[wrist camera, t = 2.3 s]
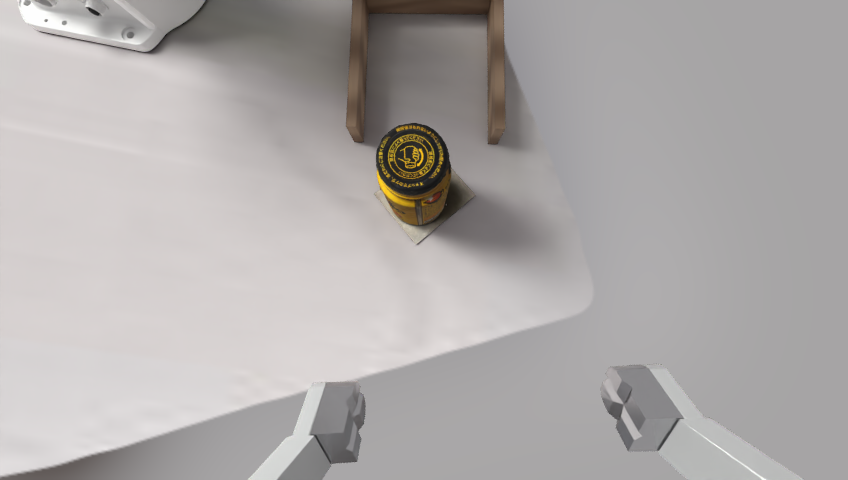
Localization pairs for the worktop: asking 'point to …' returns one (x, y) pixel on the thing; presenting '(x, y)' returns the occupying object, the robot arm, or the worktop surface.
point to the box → (426, 3)
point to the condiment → (418, 180)
